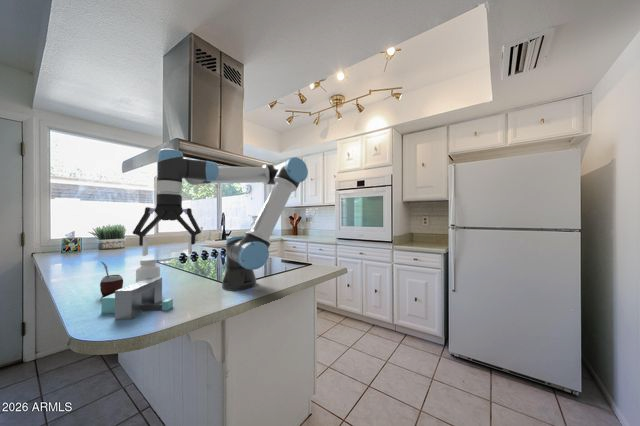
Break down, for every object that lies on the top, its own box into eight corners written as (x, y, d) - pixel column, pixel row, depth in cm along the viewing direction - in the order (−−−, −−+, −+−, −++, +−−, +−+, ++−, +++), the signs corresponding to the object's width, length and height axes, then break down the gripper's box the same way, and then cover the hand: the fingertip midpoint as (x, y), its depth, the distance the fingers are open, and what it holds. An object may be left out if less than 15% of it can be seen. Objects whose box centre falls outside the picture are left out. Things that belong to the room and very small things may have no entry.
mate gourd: (120, 291, 103) (120, 256, 103) (125, 295, 98) (125, 259, 98) (97, 296, 97) (97, 259, 97) (100, 300, 92) (101, 261, 92)
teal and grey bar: (174, 305, 87) (174, 292, 87) (166, 311, 82) (166, 296, 82) (113, 307, 85) (113, 293, 85) (101, 313, 80) (101, 298, 80)
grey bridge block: (161, 301, 92) (162, 277, 92) (131, 319, 76) (131, 290, 76) (148, 301, 91) (148, 277, 91) (114, 319, 75) (115, 290, 75)
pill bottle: (150, 299, 93) (150, 261, 93) (130, 299, 93) (130, 261, 93) (164, 293, 101) (164, 257, 101) (145, 293, 101) (145, 257, 101)
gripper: (209, 196, 92) (208, 251, 92) (131, 193, 83) (129, 254, 83) (207, 194, 85) (206, 254, 85) (121, 191, 76) (119, 257, 76)
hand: (168, 254), depth 84 cm, fingers open, 13 cm apart
